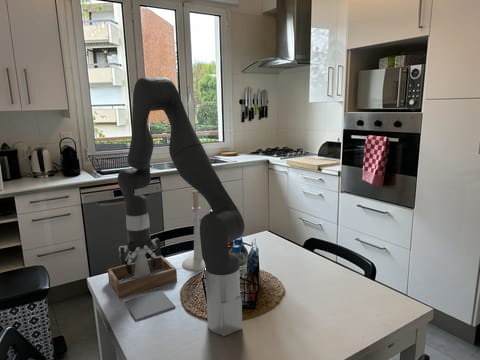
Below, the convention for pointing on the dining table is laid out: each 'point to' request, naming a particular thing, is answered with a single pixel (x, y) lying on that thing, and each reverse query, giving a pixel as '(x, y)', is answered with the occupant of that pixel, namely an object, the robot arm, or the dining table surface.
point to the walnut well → (141, 278)
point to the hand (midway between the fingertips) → (141, 270)
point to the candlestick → (195, 241)
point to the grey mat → (149, 305)
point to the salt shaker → (141, 264)
